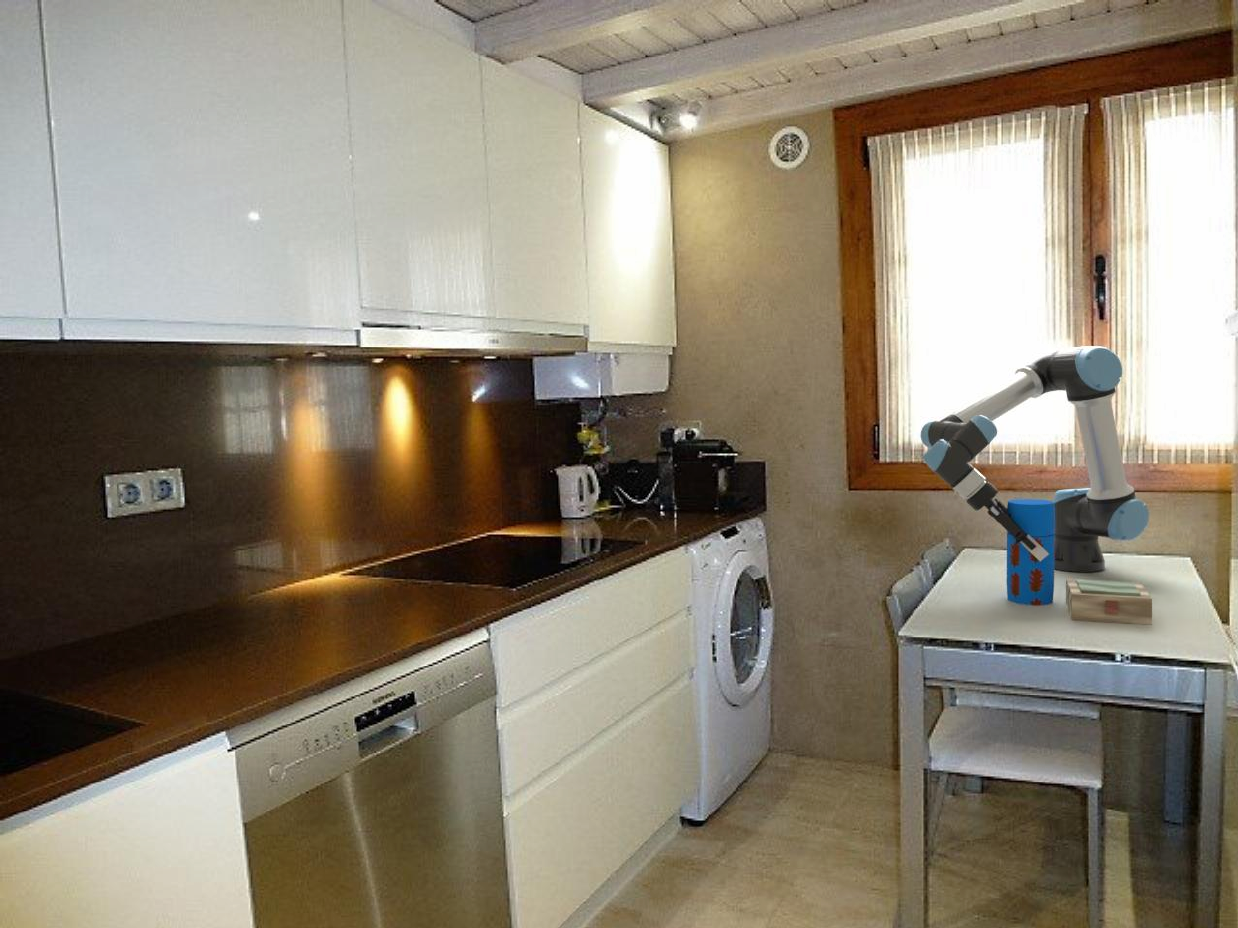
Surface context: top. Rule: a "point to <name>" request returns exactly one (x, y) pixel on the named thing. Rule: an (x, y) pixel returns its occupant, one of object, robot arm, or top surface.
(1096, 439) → the robot arm
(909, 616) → the top surface
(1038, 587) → the thermos
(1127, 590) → the wooden box
